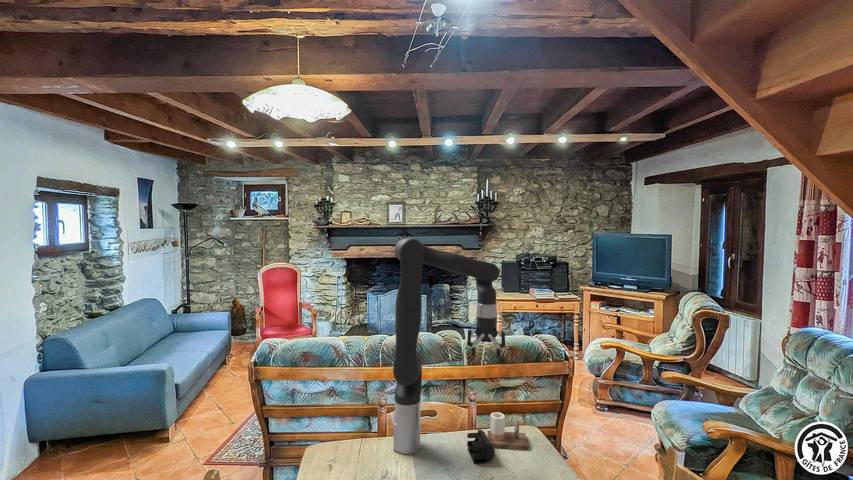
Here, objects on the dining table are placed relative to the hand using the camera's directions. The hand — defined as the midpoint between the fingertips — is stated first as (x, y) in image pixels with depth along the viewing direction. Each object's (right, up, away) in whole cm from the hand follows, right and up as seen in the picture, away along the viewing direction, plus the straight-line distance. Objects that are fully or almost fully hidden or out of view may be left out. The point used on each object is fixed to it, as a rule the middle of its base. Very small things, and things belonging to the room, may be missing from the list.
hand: (485, 357), depth 149 cm
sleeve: (+4, -29, -3) cm, 29 cm away
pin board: (+7, -30, -4) cm, 31 cm away
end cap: (-4, -31, -13) cm, 33 cm away
